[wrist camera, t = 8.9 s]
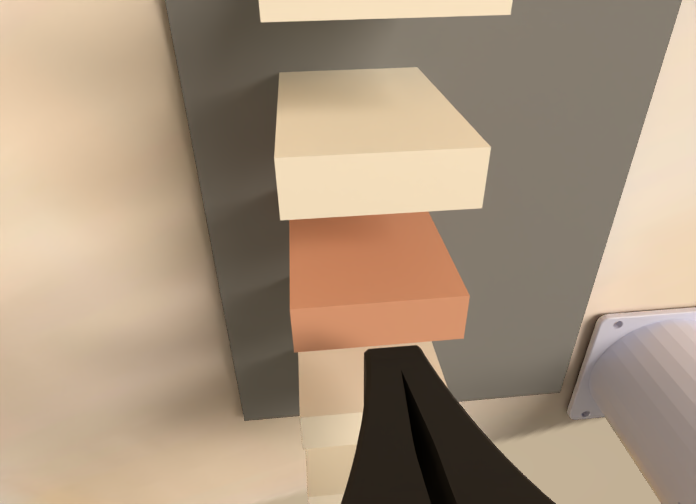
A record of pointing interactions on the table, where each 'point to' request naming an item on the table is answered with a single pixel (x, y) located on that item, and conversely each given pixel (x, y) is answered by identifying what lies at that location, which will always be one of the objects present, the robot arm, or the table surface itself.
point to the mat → (453, 225)
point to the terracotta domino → (372, 282)
